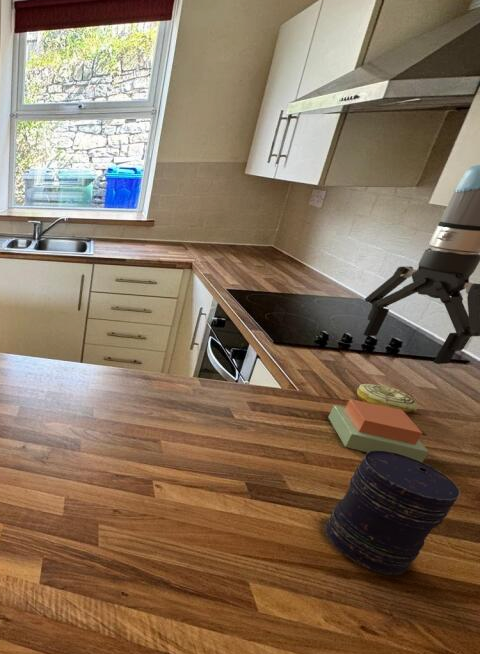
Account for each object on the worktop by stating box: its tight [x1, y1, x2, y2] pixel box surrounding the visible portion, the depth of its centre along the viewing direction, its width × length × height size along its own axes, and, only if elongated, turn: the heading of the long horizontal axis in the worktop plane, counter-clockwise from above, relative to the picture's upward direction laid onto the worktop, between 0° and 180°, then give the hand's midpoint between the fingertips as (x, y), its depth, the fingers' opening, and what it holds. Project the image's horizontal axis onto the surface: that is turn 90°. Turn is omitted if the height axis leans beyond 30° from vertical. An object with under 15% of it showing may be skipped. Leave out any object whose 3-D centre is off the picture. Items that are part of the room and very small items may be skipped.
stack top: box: [345, 398, 423, 445], centre depth 86 cm, size 9×9×3 cm
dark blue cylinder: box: [324, 451, 461, 576], centre depth 60 cm, size 10×10×15 cm
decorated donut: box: [356, 383, 419, 414], centre depth 100 cm, size 10×11×4 cm
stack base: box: [327, 404, 430, 463], centre depth 87 cm, size 12×12×4 cm
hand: (402, 348), depth 87 cm, fingers open, 13 cm apart
